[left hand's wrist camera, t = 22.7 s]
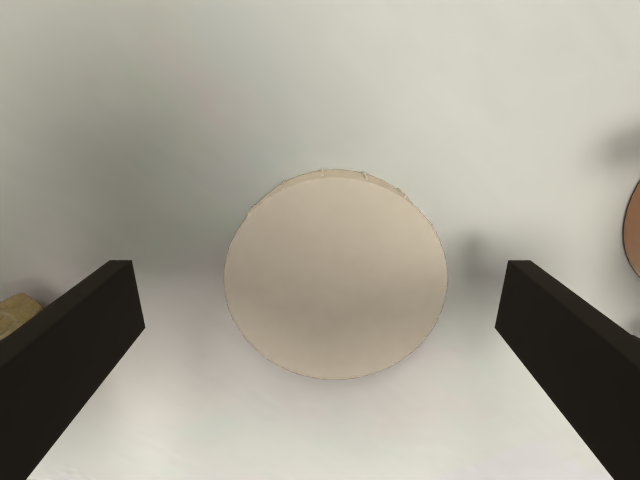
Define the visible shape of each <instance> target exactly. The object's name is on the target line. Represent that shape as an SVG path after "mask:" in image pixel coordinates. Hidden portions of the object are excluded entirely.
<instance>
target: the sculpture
mask: <svg viewBox="0 0 640 480" xmlns="http://www.w3.org/2000/svg"><path fill="white" fill-rule="evenodd" d="M42 310H43V307H42V306H41V305H40V304H39V303H37V302H36V301H35V300H33V299H32V298H30V297H29V296H27V295H25V294H23V293H19V294H16V295H14V296H12V297H10V298H8V299H6V300H5V301H3V302H1V303H0V340H1V339H3V338H5V337H7V336H8V335H9V334H11V333H12V332H13V331H15V330H16V329H17V328H19V327H20V326H22V325H23V324H24V323H26V322H27V321H28V320H30V319H31V318H32V317H34V316H35V315H36V314H38V313H39V312H41V311H42Z"/></svg>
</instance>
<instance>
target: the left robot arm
mask: <svg viewBox="0 0 640 480" xmlns="http://www.w3.org/2000/svg"><path fill="white" fill-rule="evenodd" d="M144 329H145V324H144V319H143V314H142V309H141V304H140V299H139V294H138V289H137V284H136V279H135V274H134V269H133V264H132V260H110V261H108V262H107V263H106V264H104V265H103V266H101V267H100V268H99V269H97V270H96V271H95V272H93V273H92V274H91V275H89V276H88V277H87V278H85V279H84V280H82V281H81V282H80V283H78V284H77V285H76V286H74V287H73V288H72V289H70V290H69V291H68V292H66V293H65V294H64V295H62V296H61V297H59V298H58V299H57V300H55V301H54V302H53V303H51V304H50V305H49V306H47V307H46V308H45V309H43V310H42V311H41V312H39V313H38V314H36V315H35V316H34V317H32V318H31V319H30V320H28V321H27V322H26V323H24V324H23V325H22V326H20V327H19V328H17V329H16V330H15V331H13V332H12V333H11V334H9V335H8V336H7V337H5V338H3V339H1V340H0V480H26V479H27V478H28V476H29V475H30V474H31V473H32V471H33V470H34V469H35V467H36V466H37V465H38V464H39V462H40V461H41V460H42V459H43V457H44V456H45V455H46V453H47V452H48V451H49V450H50V448H51V447H52V446H53V444H54V443H55V442H56V441H57V439H58V438H59V437H60V436H61V434H62V433H63V432H64V430H65V429H66V428H67V427H68V425H69V424H70V423H71V422H72V420H73V419H74V418H75V416H76V415H77V414H78V413H79V411H80V410H81V409H82V408H83V406H84V405H85V404H86V402H87V401H88V400H89V399H90V397H91V396H92V395H93V394H94V392H95V391H96V390H97V388H98V387H99V386H100V385H101V383H102V382H103V381H104V380H105V378H106V377H107V376H108V374H109V373H110V372H111V371H112V369H113V368H114V367H115V366H116V364H117V363H118V362H119V360H120V359H121V358H122V357H123V355H124V354H125V353H126V352H127V350H128V349H129V348H130V346H131V345H132V344H133V343H134V341H135V340H136V339H137V338H138V336H139V335H140V334H141V332H142V331H143V330H144ZM495 329H496V330H497V331H498V332H499V334H500V335H501V336H502V338H503V339H504V340H505V341H506V343H507V344H508V345H509V346H510V348H511V349H512V350H513V352H514V353H515V354H516V355H517V357H518V358H519V359H520V360H521V362H522V363H523V364H524V366H525V367H526V368H527V369H528V371H529V372H530V373H531V374H532V376H533V377H534V378H535V380H536V381H537V382H538V383H539V385H540V386H541V387H542V388H543V390H544V391H545V392H546V394H547V395H548V396H549V397H550V399H551V400H552V401H553V402H554V404H555V405H556V406H557V408H558V409H559V410H560V411H561V413H562V414H563V415H564V416H565V418H566V419H567V420H568V422H569V423H570V424H571V425H572V427H573V428H574V429H575V430H576V432H577V433H578V434H579V436H580V437H581V438H582V439H583V441H584V442H585V443H586V444H587V446H588V447H589V448H590V450H591V451H592V452H593V453H594V455H595V456H596V457H597V459H598V460H599V461H600V462H601V464H602V465H603V466H604V467H605V469H606V470H607V471H608V473H609V474H610V475H611V476H612V478H613V479H614V480H640V338H638V337H636V336H634V335H631V334H629V333H628V332H627V331H625V330H624V329H623V328H621V327H620V326H618V325H617V324H616V323H614V322H613V321H612V320H610V319H609V318H608V317H606V316H605V315H604V314H602V313H601V312H599V311H598V310H597V309H595V308H594V307H593V306H591V305H590V304H589V303H587V302H586V301H585V300H583V299H582V298H581V297H579V296H578V295H576V294H575V293H574V292H572V291H571V290H570V289H568V288H567V287H566V286H564V285H563V284H562V283H560V282H559V281H558V280H556V279H555V278H553V277H552V276H551V275H549V274H548V273H547V272H545V271H544V270H543V269H541V268H540V267H539V266H537V265H536V264H534V263H533V262H532V261H530V260H508V264H507V269H506V274H505V279H504V284H503V289H502V294H501V299H500V304H499V309H498V314H497V319H496V324H495Z"/></svg>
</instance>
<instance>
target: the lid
mask: <svg viewBox="0 0 640 480" xmlns="http://www.w3.org/2000/svg"><path fill="white" fill-rule="evenodd" d="M246 215H248V216H247V218H246V219H245V220H244V222H243V223H242V225H241V226H240V227H239V229H238V230H237V232H236V234H235V236H234V238H233V240H232V242H231V245H230V246H229V248H228V249H229V251H228V253H227V257H226V263H225V268H224V288H225V296H226V300H227V304H228V308H229V310H230V313H231V315H232V318H233V320H234V322H235V323H236V325H237V327H238V329H239V331H240V332H241V333H242V335H243V336H244V337H245V339H246V340H247V341H248V342H249V343H250V344H251V345H252V346H253V347H254V348H255V349H256V350H257V351H258V352H259V353H261V354H262V355H263V356H264V357H265V358H267V359H268V360H270V361H272V362H273V363H275V364H276V365H278V366H280V367H282V368H285V369H287V370H289V371H291V372H294V373H297V374H300V375H304V376H308V377H312V378H319V379H332V380H341V379H352V378H358V377H362V376H367V375H370V374H373V373H376V372H379V371H382V370H384V369H386V368H388V367H390V366H392V365H394V364H396V363H397V362H399V361H401V360H402V359H404V358H405V357H406V356H408V355H409V354H410V353H412V352H413V351H414V350H415V349H416V348H417V347H418V346H419V345H420V344H421V343H422V342H423V341H424V340H425V338H426V337H427V336H428V334H429V333H430V332H431V330H432V329H433V327H434V325H435V324H436V322H437V320H438V318H439V315H440V313H441V311H442V308H443V305H444V301H445V297H446V291H447V283H448V282H447V265H446V259H445V254H444V251H443V248H442V245H441V242H440V240H439V238H438V236H437V234H436V232H435V230H434V227H433V225H432V224H431V223H430V222H429V221H428V220H427V219H426V218H425V217H424V216H423V215H422V213H421V212H420V211H419V210H418V209H417V208H416V207H415V206H414V205H413V204H412V203H411V202H410V201H409V200H408V199H407V196H406V195H405V194H404V193H403V192H402V191H401V190H400V189H399V188H398V189H395V188H394V187H392V186H391V185H389V184H387V183H386V182H384V181H382V180H380V179H377V178H375V177H373V176H370V175H367V174H366V173H365V172H363V171H362V173H359V172H355V171H347V170H324V169H321V171H315V172H311V173H307V174H304V175H300V176H298V177H295V178H293V179H291V180H288V181H286V180H284V181H283V182H282V184H281V185H279V186H278V187H276V188H275V189H273V190H272V191H271V192H270V193H268V194H267V195H266V196H265V197H264V198H263V199H262V200H261V201H260V202H259V203H258V204H257V205H255V204H254V206H253V207H252V208H251V209H250V211H249V212H248V213H247V214H246Z"/></svg>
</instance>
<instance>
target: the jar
mask: <svg viewBox="0 0 640 480" xmlns="http://www.w3.org/2000/svg"><path fill="white" fill-rule="evenodd" d="M624 245H625V250H626V254H627V257H628V259H629V262H630V264H631V266H632V267H633V269H634V270H635V272H636V273H637V274H638V275H639V277H640V182H639V184H638V186H637V188H636V190H635V192H634V194H633V196H632V198H631V200H630V203H629V206H628V209H627V213H626V217H625V222H624Z"/></svg>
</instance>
